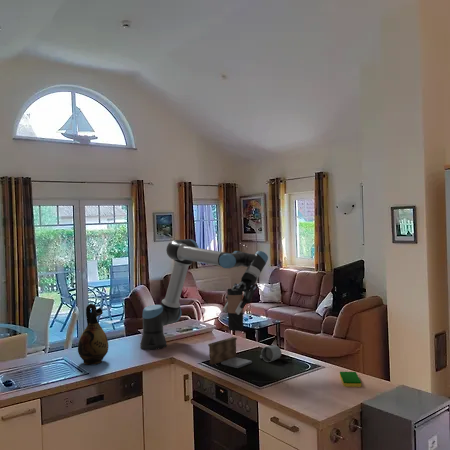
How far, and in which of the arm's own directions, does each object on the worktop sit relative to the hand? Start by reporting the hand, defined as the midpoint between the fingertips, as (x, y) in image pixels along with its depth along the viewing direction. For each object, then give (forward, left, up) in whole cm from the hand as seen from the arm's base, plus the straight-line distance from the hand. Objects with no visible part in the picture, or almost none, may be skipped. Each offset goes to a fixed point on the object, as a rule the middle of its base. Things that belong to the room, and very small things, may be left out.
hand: (230, 312), depth 223 cm
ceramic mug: (+9, +18, -26) cm, 34 cm away
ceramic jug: (-61, -41, -26) cm, 78 cm away
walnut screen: (-9, +3, -26) cm, 28 cm away
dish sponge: (+56, +14, -27) cm, 64 cm away
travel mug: (0, +3, -9) cm, 10 cm away
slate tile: (0, +3, -26) cm, 26 cm away
